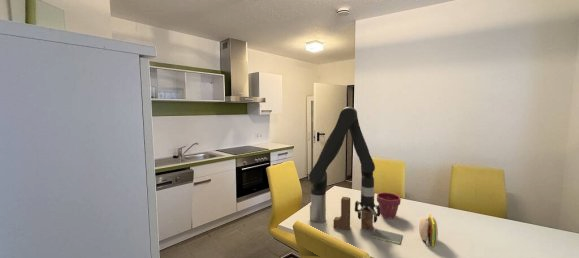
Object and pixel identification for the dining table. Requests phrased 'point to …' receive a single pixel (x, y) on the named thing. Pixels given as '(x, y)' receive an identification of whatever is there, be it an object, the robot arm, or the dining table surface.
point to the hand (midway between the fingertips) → (367, 220)
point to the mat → (387, 236)
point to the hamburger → (428, 229)
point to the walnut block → (366, 220)
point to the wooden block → (343, 215)
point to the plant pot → (388, 204)
